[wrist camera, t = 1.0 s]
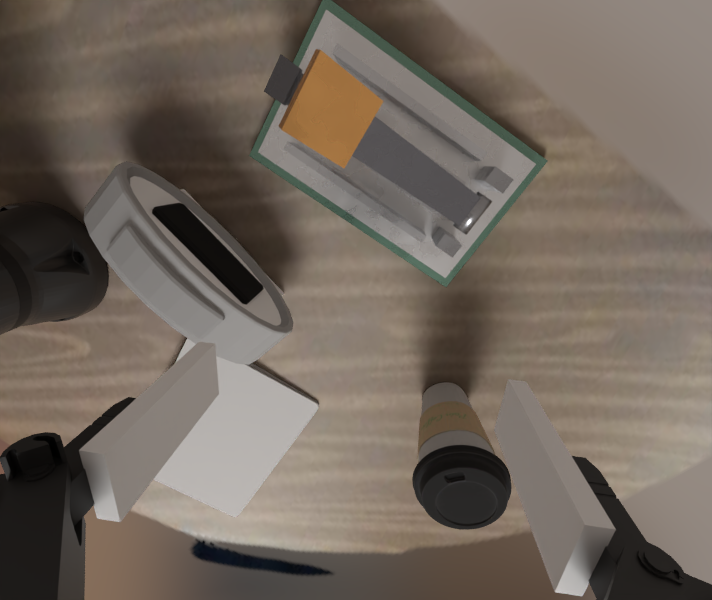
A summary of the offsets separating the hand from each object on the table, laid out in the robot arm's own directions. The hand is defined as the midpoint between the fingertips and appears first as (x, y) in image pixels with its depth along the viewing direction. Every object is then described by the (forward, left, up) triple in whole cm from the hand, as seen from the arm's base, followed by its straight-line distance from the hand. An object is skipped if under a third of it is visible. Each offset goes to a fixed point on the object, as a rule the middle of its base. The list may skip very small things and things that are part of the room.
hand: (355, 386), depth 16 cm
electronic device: (-5, -37, -28) cm, 46 cm away
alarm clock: (-16, -11, -27) cm, 33 cm away
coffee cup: (+18, -12, -27) cm, 35 cm away
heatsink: (-5, +9, -27) cm, 29 cm away
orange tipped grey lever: (-4, +9, -17) cm, 20 cm away
